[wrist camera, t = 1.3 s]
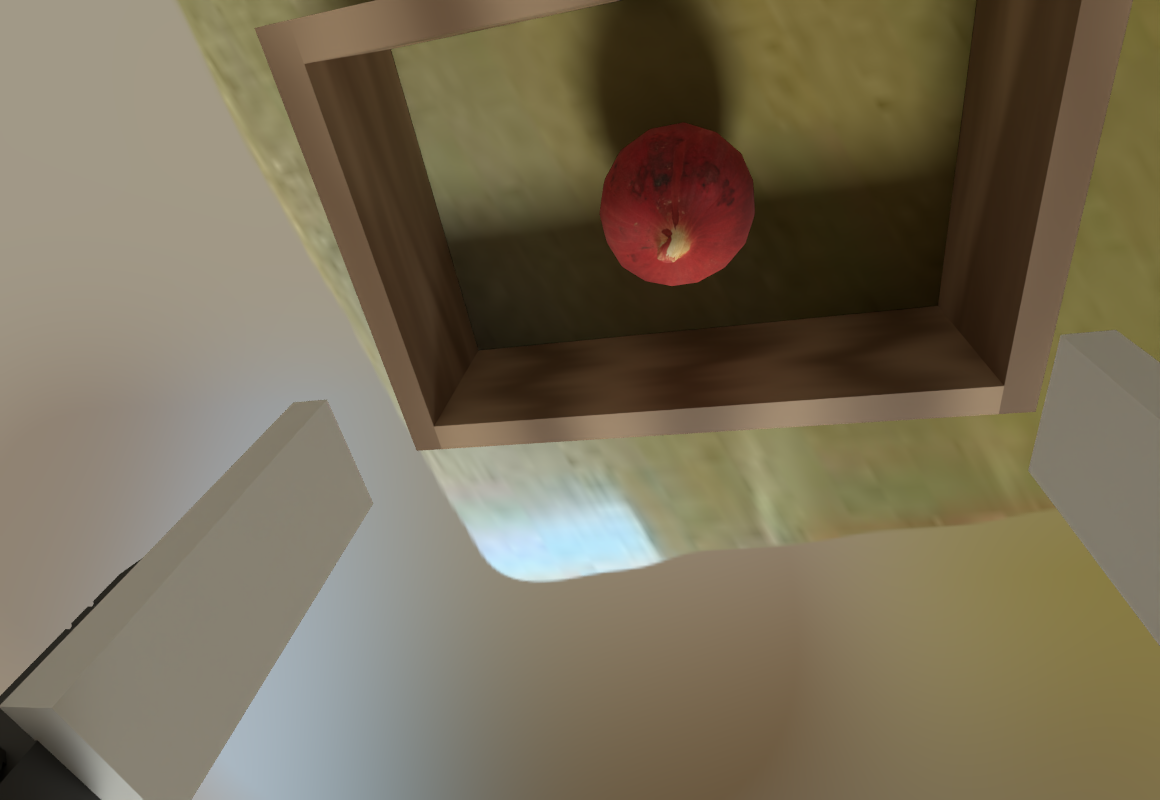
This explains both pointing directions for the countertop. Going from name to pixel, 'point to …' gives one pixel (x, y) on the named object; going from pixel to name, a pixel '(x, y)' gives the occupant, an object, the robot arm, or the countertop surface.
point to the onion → (677, 204)
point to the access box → (722, 354)
